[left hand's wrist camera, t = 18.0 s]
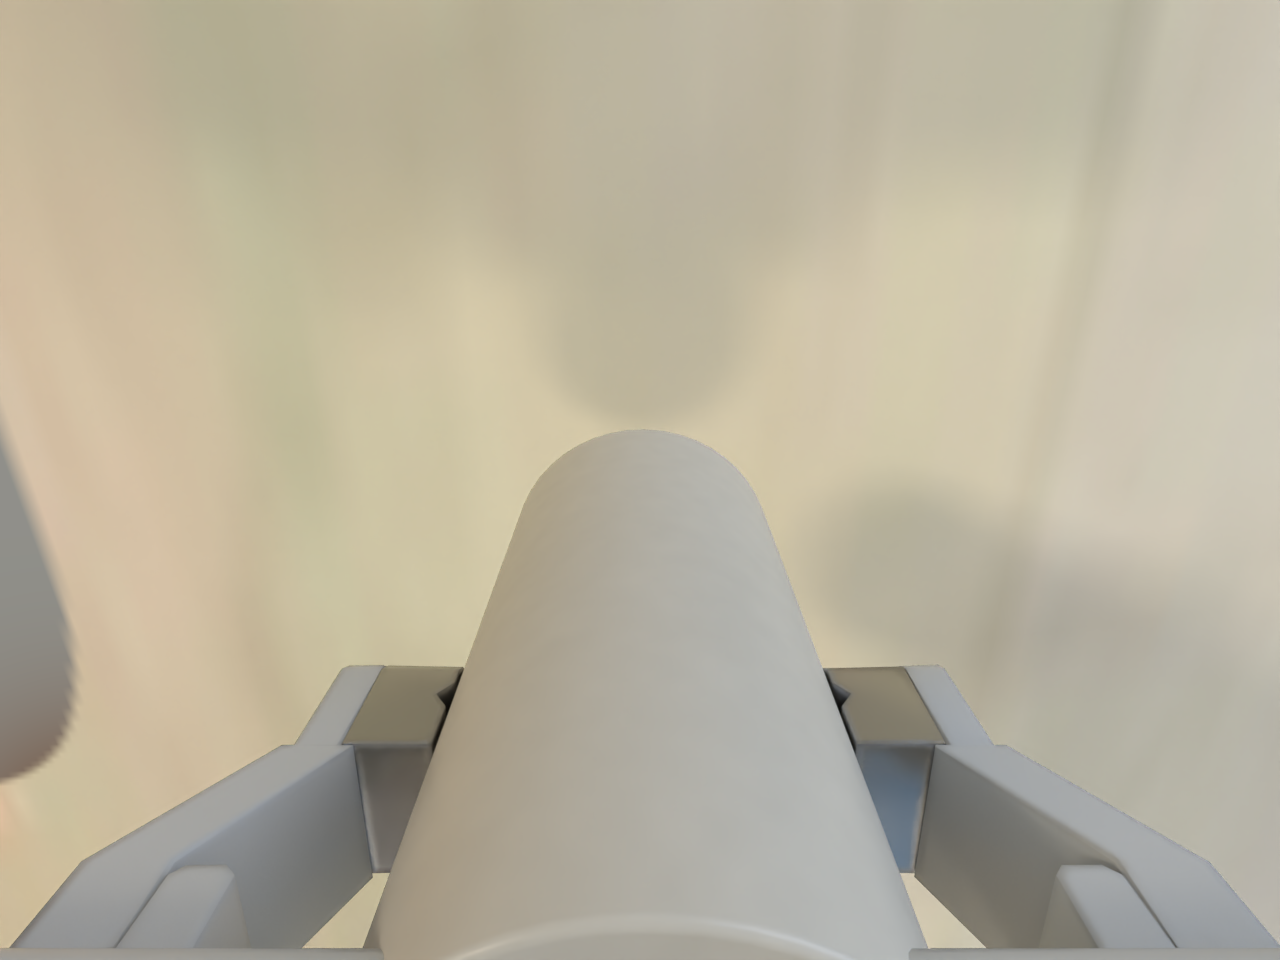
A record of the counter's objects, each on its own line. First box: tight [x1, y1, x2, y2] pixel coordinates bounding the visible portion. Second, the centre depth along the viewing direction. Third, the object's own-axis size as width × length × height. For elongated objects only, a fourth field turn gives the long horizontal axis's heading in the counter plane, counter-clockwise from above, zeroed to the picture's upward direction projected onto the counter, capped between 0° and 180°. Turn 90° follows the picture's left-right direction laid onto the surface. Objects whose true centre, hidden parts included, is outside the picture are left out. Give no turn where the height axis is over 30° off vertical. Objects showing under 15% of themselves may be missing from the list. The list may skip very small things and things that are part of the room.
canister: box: [363, 430, 928, 960], centre depth 10 cm, size 5×5×10 cm
